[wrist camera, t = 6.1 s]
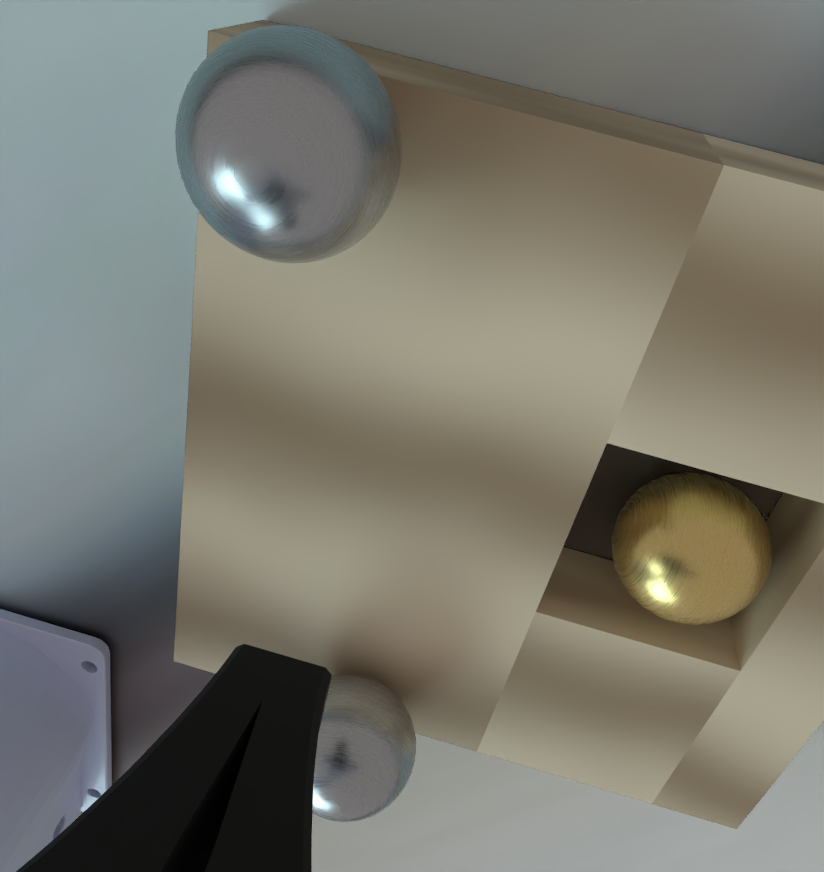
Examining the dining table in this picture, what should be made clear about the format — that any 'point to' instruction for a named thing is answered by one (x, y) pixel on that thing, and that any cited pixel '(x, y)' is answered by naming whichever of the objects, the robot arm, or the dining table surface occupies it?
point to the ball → (691, 548)
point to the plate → (520, 438)
